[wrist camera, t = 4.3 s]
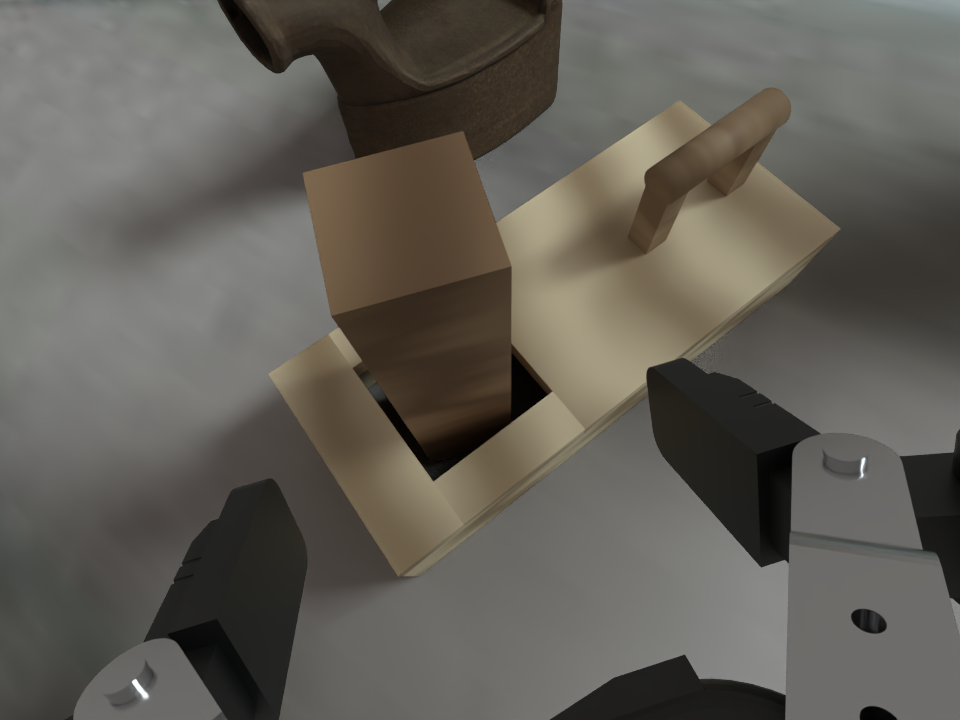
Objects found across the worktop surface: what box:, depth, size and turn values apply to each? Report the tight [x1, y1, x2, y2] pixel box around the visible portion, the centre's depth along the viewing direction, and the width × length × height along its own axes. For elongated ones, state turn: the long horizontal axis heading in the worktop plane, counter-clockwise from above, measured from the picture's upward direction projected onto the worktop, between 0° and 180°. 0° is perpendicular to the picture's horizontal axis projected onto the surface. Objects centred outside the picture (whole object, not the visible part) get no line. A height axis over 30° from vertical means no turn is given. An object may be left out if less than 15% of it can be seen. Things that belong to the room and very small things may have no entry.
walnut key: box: [303, 131, 512, 463], centre depth 20 cm, size 4×4×16 cm
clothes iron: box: [218, 0, 562, 160], centre depth 28 cm, size 8×16×13 cm, turn 133°
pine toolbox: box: [269, 88, 841, 576], centre depth 24 cm, size 24×10×10 cm, turn 127°
